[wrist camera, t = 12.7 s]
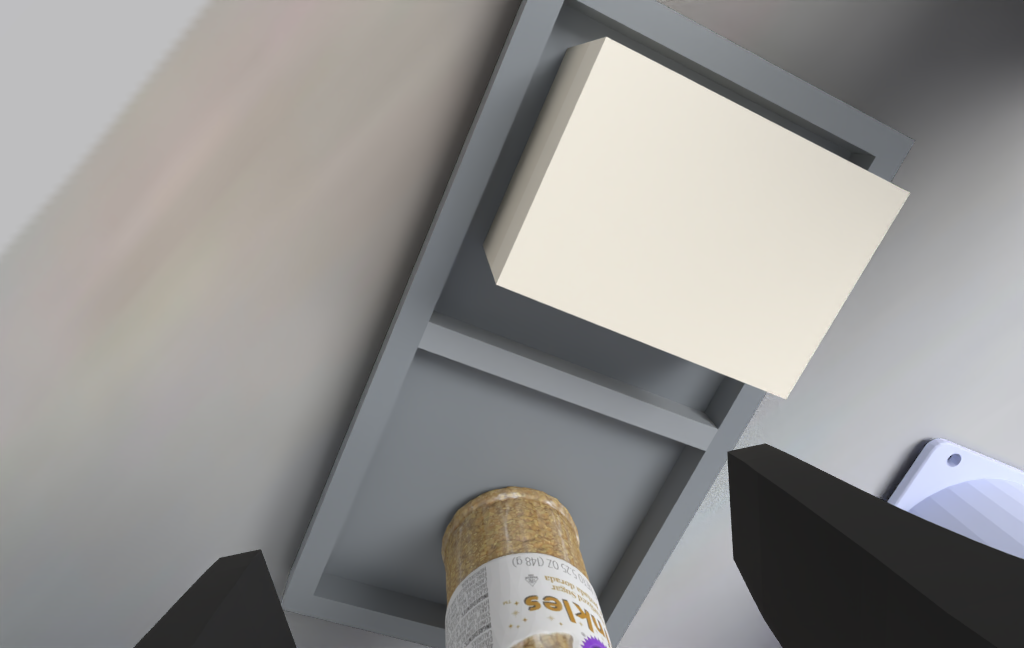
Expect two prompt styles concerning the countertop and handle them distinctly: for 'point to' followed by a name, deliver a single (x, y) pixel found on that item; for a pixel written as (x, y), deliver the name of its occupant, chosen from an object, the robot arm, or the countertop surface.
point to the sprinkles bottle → (518, 576)
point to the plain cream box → (685, 219)
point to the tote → (540, 362)
